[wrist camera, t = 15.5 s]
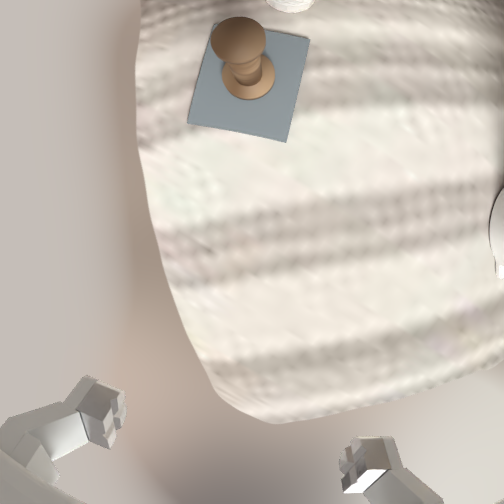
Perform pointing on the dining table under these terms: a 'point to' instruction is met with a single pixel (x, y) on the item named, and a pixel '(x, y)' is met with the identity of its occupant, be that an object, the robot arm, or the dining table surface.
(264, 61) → the brown post
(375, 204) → the dining table surface
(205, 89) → the gray book
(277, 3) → the white cup
